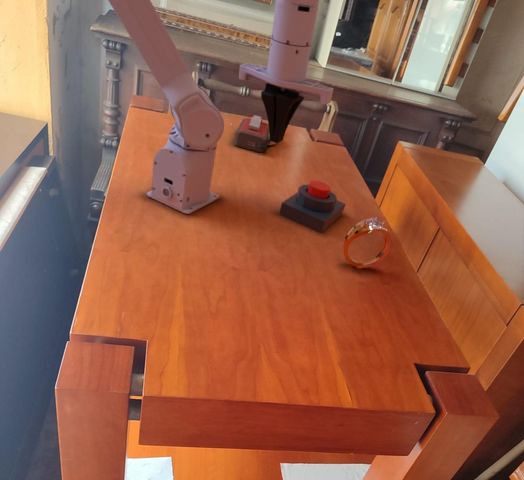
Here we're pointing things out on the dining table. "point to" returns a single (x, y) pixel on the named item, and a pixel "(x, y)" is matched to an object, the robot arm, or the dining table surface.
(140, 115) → the dining table surface
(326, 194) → the light button
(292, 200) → the switch box
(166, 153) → the robot arm
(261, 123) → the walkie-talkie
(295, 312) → the dining table surface
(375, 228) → the ring
